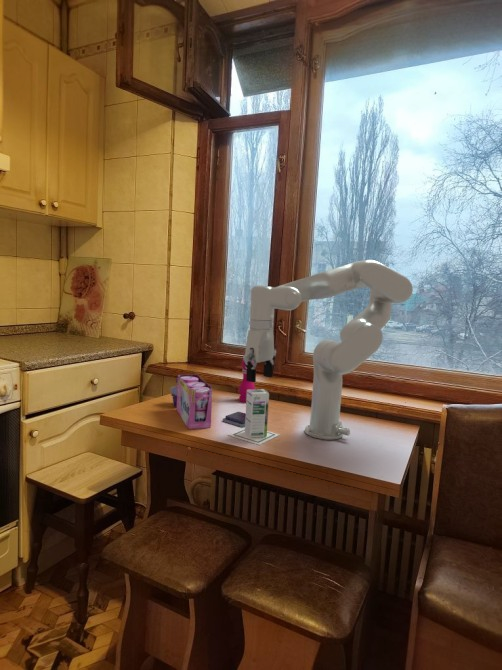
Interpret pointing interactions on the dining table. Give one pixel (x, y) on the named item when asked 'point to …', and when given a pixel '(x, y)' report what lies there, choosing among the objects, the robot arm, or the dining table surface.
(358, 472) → the dining table surface
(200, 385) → the gum box
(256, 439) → the marked card
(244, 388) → the pepper mill
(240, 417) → the ink pad
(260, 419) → the syrup box
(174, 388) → the potion bottle
